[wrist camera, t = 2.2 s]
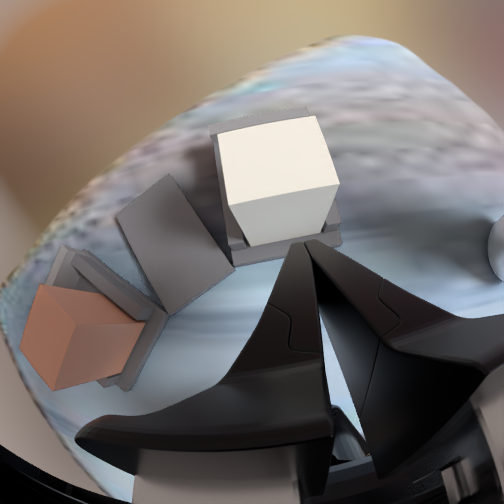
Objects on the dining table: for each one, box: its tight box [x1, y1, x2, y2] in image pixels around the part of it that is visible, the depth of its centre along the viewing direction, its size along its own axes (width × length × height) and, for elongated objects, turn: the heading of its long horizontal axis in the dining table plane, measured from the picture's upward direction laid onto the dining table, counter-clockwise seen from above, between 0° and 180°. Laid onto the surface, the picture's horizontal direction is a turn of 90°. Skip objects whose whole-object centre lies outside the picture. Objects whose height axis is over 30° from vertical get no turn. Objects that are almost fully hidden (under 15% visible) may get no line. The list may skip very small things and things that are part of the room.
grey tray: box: [45, 107, 342, 392], centre depth 20 cm, size 13×30×4 cm, turn 125°
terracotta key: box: [20, 284, 146, 391], centre depth 16 cm, size 4×5×8 cm
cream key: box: [217, 116, 340, 247], centre depth 16 cm, size 4×5×8 cm
